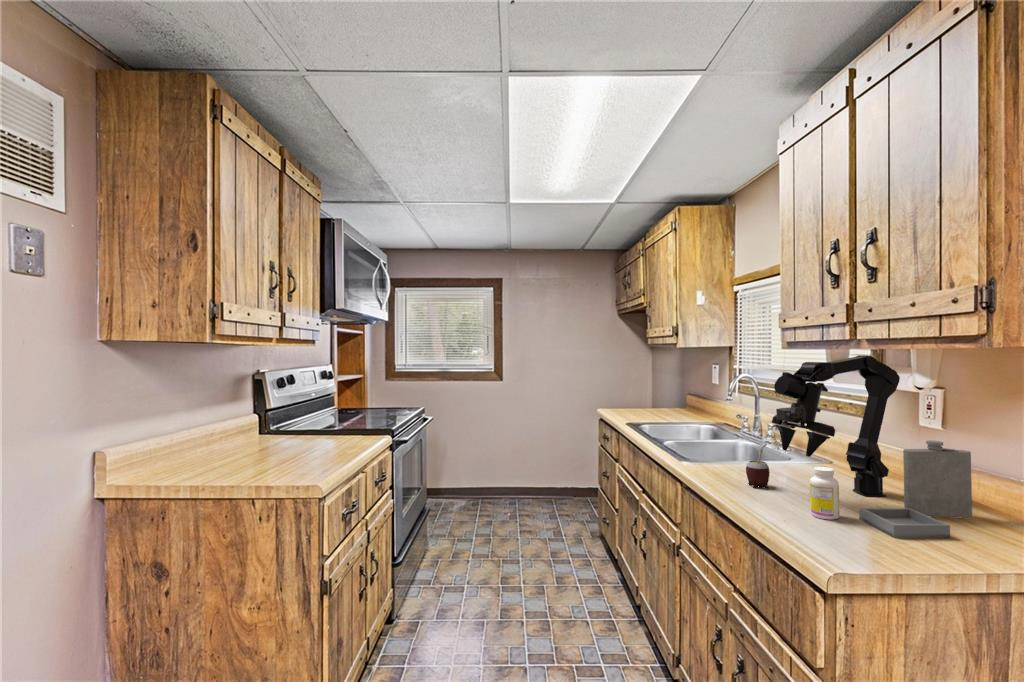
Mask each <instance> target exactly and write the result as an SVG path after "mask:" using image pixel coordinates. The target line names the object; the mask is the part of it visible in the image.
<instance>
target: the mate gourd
mask: <svg viewBox="0 0 1024 682" xmlns="http://www.w3.org/2000/svg"><path fill="white" fill-rule="evenodd" d="M766 446H767V443H764V445H762V447H761V448H759V453H758V454H759V455H758V460H749V461H748V462H747V463H746V467H745V473H746V478H747V481H748V483H747V485H748V484H749V485H748V486H751V485H754V486H752V489H757V488H756V487H758V486H759V487H758V488H761V487H765V488H764V489H769V487H768V484H769V480H770V468H769V464H768V463H767V462H765V461H762V460H761V458H762V453H763V452H764V448H765V447H766Z"/></svg>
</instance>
